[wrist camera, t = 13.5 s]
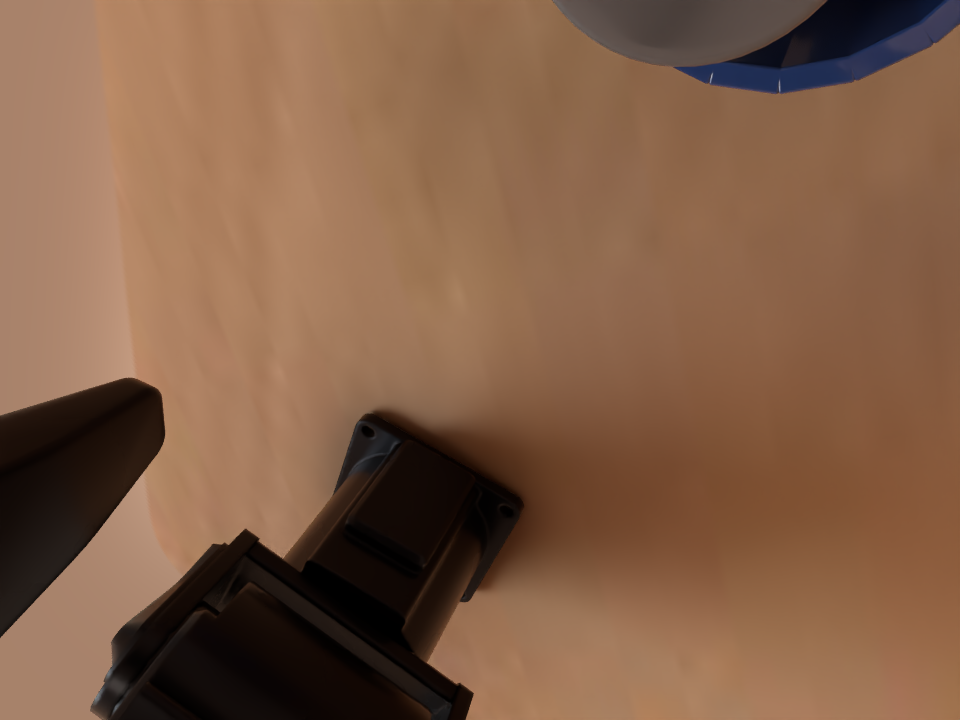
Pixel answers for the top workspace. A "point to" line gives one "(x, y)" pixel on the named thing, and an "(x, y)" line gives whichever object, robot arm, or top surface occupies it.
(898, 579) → the top surface
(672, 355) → the top surface
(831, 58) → the blue cup
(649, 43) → the gray cylinder
